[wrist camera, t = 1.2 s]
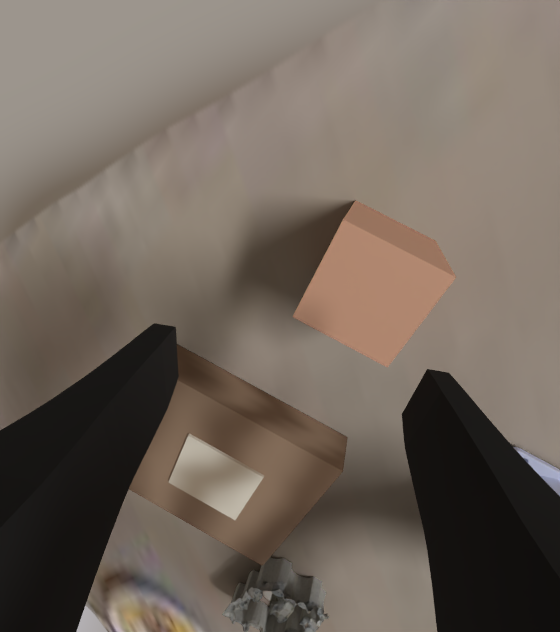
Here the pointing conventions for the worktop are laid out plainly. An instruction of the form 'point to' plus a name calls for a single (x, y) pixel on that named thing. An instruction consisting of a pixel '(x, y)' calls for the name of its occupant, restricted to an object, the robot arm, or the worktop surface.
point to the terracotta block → (375, 284)
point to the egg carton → (278, 600)
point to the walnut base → (237, 460)
